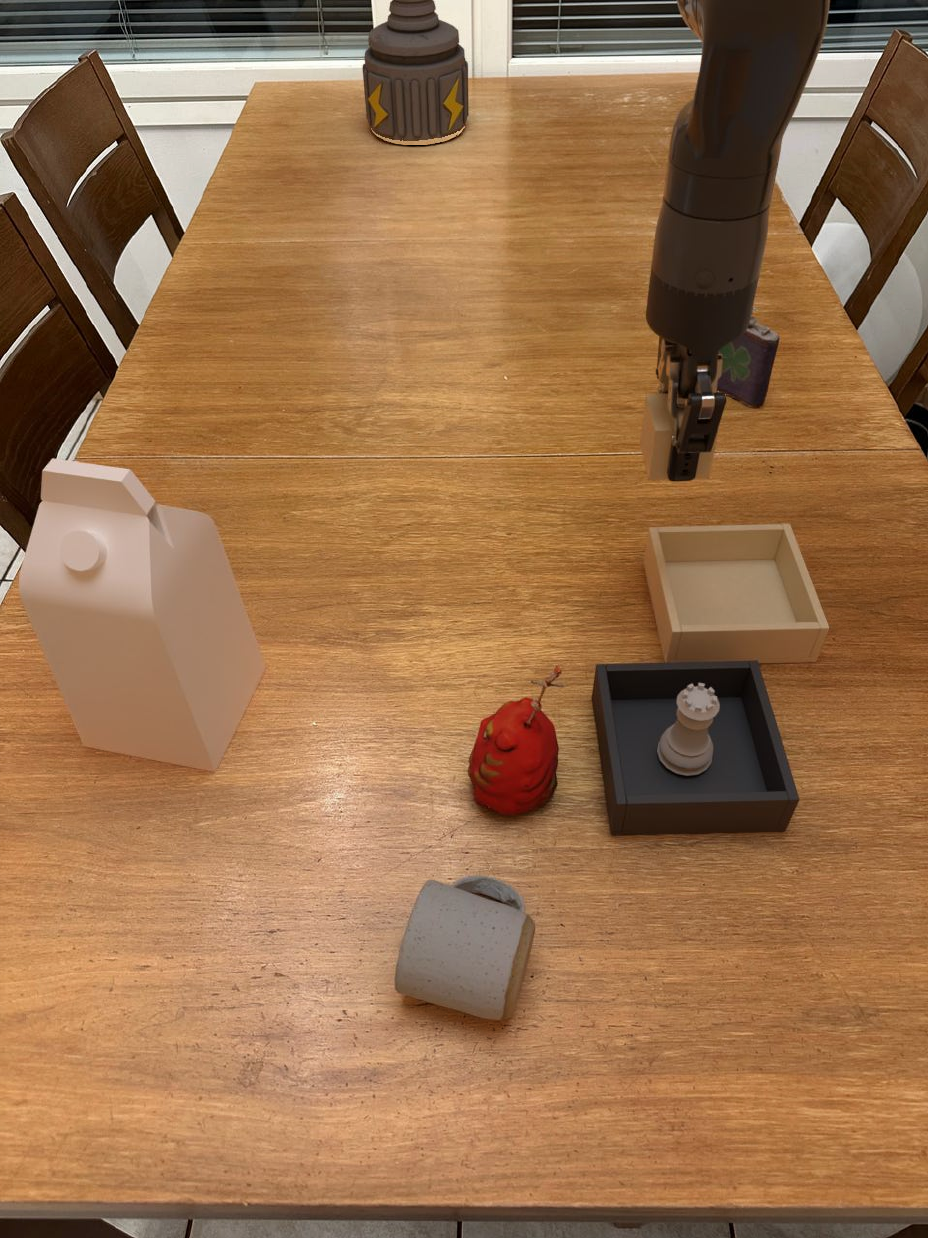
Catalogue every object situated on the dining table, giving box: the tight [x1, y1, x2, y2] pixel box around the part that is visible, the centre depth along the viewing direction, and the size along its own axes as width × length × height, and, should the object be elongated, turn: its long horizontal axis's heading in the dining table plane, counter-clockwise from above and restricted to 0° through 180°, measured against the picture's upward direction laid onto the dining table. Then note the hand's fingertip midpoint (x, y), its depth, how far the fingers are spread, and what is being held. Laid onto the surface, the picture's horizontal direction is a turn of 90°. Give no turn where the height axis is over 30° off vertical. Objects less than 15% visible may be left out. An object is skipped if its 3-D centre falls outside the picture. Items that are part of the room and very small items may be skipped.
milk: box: [18, 457, 267, 773], centre depth 73 cm, size 12×12×26 cm
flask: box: [717, 306, 780, 409], centre depth 110 cm, size 9×3×11 cm, turn 46°
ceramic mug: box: [394, 874, 536, 1021], centre depth 64 cm, size 11×8×8 cm
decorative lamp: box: [361, 0, 470, 141], centre depth 162 cm, size 19×19×30 cm
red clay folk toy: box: [467, 665, 564, 816], centre depth 71 cm, size 8×7×15 cm
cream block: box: [639, 393, 720, 481], centre depth 77 cm, size 5×5×5 cm
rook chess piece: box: [657, 683, 720, 776], centre depth 75 cm, size 4×4×8 cm
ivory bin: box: [642, 523, 830, 664], centre depth 88 cm, size 14×14×5 cm
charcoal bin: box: [591, 660, 800, 836], centre depth 76 cm, size 14×14×5 cm
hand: (674, 456), depth 79 cm, fingers closed on cream block, 5 cm apart
